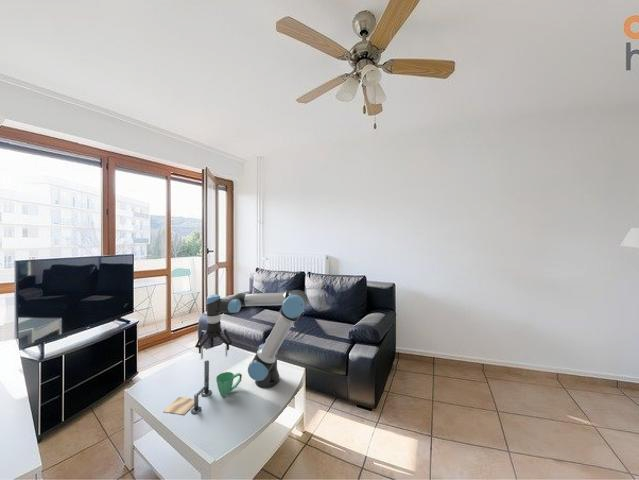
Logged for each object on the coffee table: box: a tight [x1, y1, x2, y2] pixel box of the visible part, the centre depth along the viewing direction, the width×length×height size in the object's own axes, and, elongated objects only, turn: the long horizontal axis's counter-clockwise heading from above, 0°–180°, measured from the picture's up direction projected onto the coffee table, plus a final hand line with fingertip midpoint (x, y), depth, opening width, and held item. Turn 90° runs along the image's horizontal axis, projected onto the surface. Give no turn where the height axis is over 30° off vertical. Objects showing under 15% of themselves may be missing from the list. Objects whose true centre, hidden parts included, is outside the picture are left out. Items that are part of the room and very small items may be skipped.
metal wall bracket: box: [190, 360, 213, 415], centre depth 143 cm, size 8×19×19 cm, turn 171°
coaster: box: [163, 396, 194, 416], centre depth 140 cm, size 12×12×1 cm
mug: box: [215, 371, 243, 397], centre depth 153 cm, size 15×10×10 cm
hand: (214, 357), depth 154 cm, fingers open, 13 cm apart
